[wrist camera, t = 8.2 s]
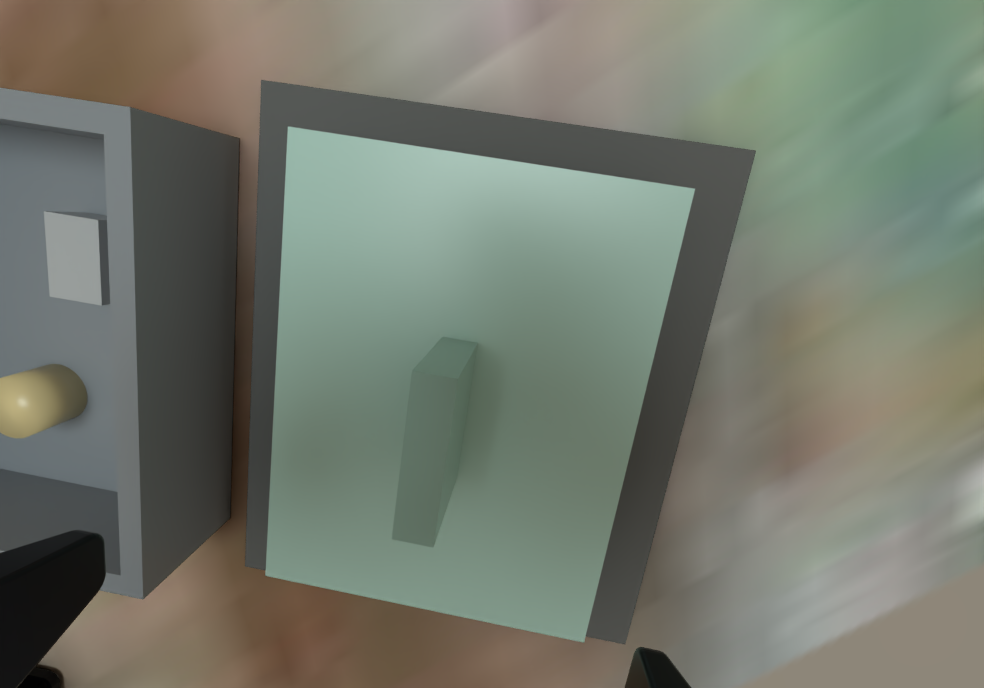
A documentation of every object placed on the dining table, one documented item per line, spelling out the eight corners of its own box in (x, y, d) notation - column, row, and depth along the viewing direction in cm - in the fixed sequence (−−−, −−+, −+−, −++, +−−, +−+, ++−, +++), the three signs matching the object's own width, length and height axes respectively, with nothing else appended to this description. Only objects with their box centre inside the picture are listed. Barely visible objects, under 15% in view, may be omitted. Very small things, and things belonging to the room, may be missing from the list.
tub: (230, 517, 22) (143, 599, 17) (-18, 468, 23) (-168, 533, 18) (239, 138, 18) (130, 107, 13) (-60, 93, 19) (-266, 48, 14)
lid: (579, 600, 21) (594, 750, 15) (292, 541, 22) (196, 662, 16) (675, 193, 17) (749, 175, 11) (318, 138, 18) (203, 93, 12)
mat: (623, 636, 22) (625, 644, 21) (250, 560, 23) (245, 566, 22) (751, 152, 17) (755, 150, 16) (267, 82, 18) (261, 79, 17)
